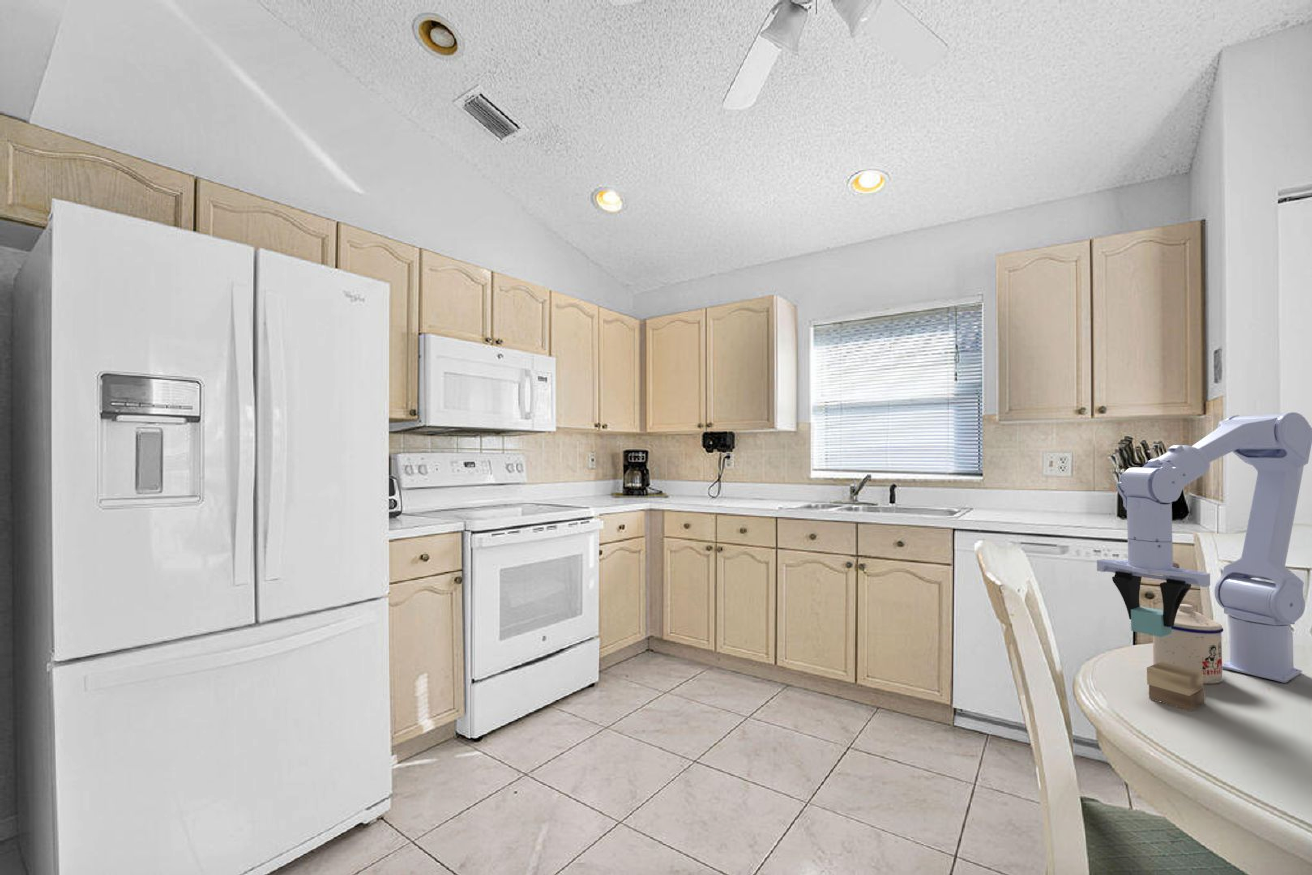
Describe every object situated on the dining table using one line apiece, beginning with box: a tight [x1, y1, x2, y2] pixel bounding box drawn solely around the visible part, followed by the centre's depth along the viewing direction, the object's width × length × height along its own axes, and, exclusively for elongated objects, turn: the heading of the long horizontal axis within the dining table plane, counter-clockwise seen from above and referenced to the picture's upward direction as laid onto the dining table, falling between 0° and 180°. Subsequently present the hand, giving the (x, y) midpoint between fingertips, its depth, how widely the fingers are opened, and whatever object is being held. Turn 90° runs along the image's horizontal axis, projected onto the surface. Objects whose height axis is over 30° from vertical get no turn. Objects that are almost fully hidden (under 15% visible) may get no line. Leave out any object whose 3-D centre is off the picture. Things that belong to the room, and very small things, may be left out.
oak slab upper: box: [1146, 662, 1204, 696], centre depth 89 cm, size 5×5×2 cm
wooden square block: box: [1148, 685, 1205, 712], centre depth 89 cm, size 5×5×2 cm
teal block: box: [1130, 605, 1171, 637], centre depth 97 cm, size 4×4×4 cm
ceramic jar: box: [1152, 603, 1224, 685], centre depth 100 cm, size 12×9×12 cm
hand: (1151, 622), depth 97 cm, fingers closed on teal block, 4 cm apart
